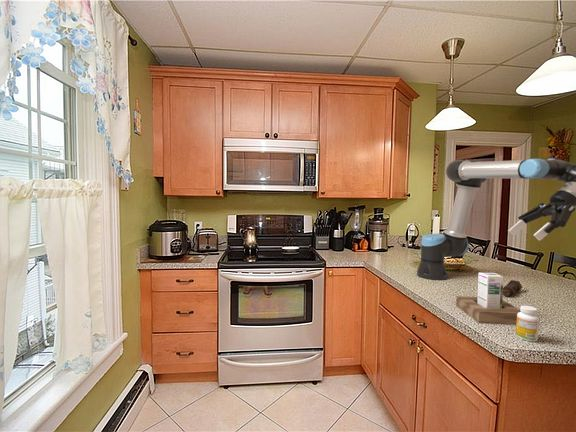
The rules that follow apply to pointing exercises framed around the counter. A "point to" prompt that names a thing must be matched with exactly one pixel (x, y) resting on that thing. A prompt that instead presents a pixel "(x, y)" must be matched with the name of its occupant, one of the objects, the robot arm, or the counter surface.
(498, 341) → the counter surface
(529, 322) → the supplement bottle
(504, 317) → the socket block
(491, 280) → the syrup box
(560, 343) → the counter surface
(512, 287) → the bolt
